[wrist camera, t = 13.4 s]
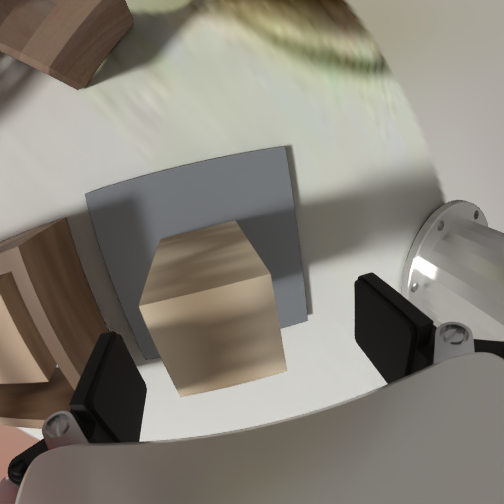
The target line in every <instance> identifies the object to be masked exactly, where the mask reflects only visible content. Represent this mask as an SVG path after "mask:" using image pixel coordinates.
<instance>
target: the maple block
mask: <svg viewBox="0 0 504 504" xmlns="http://www.w3.org/2000/svg"><path fill="white" fill-rule="evenodd" d="M139 309H140V311H141V313H142V316H143V318H144V321H145V323H146V325H147V328H148V330H149V332H150V335H151V337H152V339H153V341H154V344H155V346H156V348H157V350H158V352H159V355H160V357H161V359H162V361H163V363H164V365H165V367H166V369H167V371H168V373H169V375H170V377H171V379H172V381H173V383H174V385H175V387H176V389H177V391H178V393H179V395H180V397H184V396H189V395H194V394H199V393H204V392H209V391H213V390H218V389H222V388H226V387H230V386H235V385H239V384H243V383H246V382H250V381H254V380H258V379H261V378H265V377H269V376H272V375H275V374H279V373H282V372H285V371H287V367H286V361H285V355H284V349H283V343H282V337H281V331H280V325H279V320H278V314H277V308H276V302H275V296H274V291H273V285H272V279H271V274H270V272H269V271H268V269H267V268H266V266H265V265H264V263H263V262H262V260H261V259H260V257H259V256H258V254H257V253H256V251H255V250H254V248H253V246H252V245H251V243H250V242H249V240H248V239H247V237H246V236H245V234H244V233H243V231H242V230H241V228H240V227H239V225H238V224H237V222H236V221H230V222H226V223H222V224H218V225H214V226H210V227H206V228H202V229H197V230H193V231H189V232H185V233H182V234H178V235H174V236H170V237H166V238H162V239H160V242H159V244H158V247H157V250H156V253H155V256H154V259H153V262H152V265H151V268H150V271H149V274H148V277H147V280H146V283H145V287H144V290H143V293H142V296H141V300H140V303H139Z"/></svg>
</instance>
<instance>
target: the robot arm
mask: <svg viewBox="0 0 504 504" xmlns="http://www.w3.org/2000/svg"><path fill="white" fill-rule="evenodd" d="M354 286H355V340H356V342H357V344H358V345H359V346H360V348H361V349H362V350H363V352H364V353H365V354H366V356H367V357H368V358H369V359H370V361H371V362H372V363H373V365H374V366H375V367H376V369H377V370H378V371H379V373H380V374H381V375H382V377H383V378H384V379H385V381H386V382H387V383H388V384H387V385H385V386H382V387H380V388H377V389H375V390H372V391H370V392H367V393H365V394H362V395H359V396H357V397H354V398H351V399H349V400H346V401H343V402H340V403H337V404H334V405H331V406H328V407H325V408H322V409H319V410H315V411H312V412H309V413H305V414H302V415H298V416H295V417H291V418H288V419H284V420H280V421H276V422H272V423H268V424H263V425H259V426H254V427H250V428H245V429H240V430H235V431H229V432H223V433H217V434H211V435H205V436H197V437H190V438H181V439H172V440H160V441H146V442H139V439H140V432H141V425H142V418H143V411H144V405H145V399H146V393H147V388H146V384H145V382H144V380H143V378H142V376H141V375H140V373H139V371H138V369H137V367H136V365H135V363H134V361H133V359H132V357H131V355H130V353H129V351H128V349H127V347H126V345H125V343H124V341H123V339H122V337H121V335H119V334H118V335H117V334H116V332H114V331H113V332H107V333H102V334H100V336H99V338H98V340H97V342H96V344H95V347H94V349H93V351H92V353H91V355H90V357H89V359H88V362H87V364H86V366H85V368H84V371H83V373H82V375H81V377H80V380H79V382H78V384H77V387H76V389H75V392H74V394H73V396H72V399H71V401H70V404H69V405H70V407H71V410H70V412H67V411H58V412H55V413H53V414H52V415H50V416H49V417H48V418H47V419H46V420H45V422H44V424H43V427H42V434H43V437H44V439H42V440H41V441H39V442H38V443H36V444H35V445H33V446H32V447H30V448H28V449H27V450H25V451H24V452H22V453H21V454H20V455H18V456H16V457H15V458H14V459H13V460H12V461H11V463H10V464H9V467H8V477H9V479H7V478H5V477H4V479H3V480H2V481H1V482H0V504H504V233H501V232H499V231H497V230H494V229H491V228H489V227H488V224H487V221H486V218H485V216H484V214H483V212H482V211H481V210H480V208H479V207H477V206H476V205H475V204H472V203H470V202H467V201H463V200H455V201H451V202H448V203H446V204H444V205H442V206H441V207H440V208H438V209H437V210H436V211H435V212H434V213H433V214H432V215H431V216H430V217H429V218H428V220H427V221H426V222H425V223H424V225H423V226H422V228H421V230H420V231H419V233H418V234H417V236H416V238H415V240H414V243H413V245H412V247H411V249H410V252H409V255H408V258H407V260H406V264H405V268H404V273H403V278H402V287H401V293H402V295H401V294H400V293H398V292H397V291H396V290H395V289H393V288H392V287H391V286H389V285H388V284H387V283H386V282H384V281H383V280H382V279H380V278H379V277H378V276H377V275H375V274H374V273H368V274H365V275H361V276H359V277H358V280H357V281H355V285H354Z"/></svg>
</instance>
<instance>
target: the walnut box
mask: <svg viewBox="0 0 504 504" xmlns="http://www.w3.org/2000/svg"><path fill="white" fill-rule="evenodd" d="M107 332H109V331H108V328H107V326H106V324H105V322H104V320H103V318H102V315H101V313H100V311H99V309H98V306H97V304H96V302H95V299H94V297H93V294H92V292H91V289H90V287H89V284H88V282H87V279H86V277H85V274H84V271H83V269H82V266H81V263H80V260H79V258H78V255H77V252H76V249H75V246H74V243H73V240H72V236H71V233H70V230H69V227H68V223H67V220H66V217H65V218H62V219H59V220H56V221H54V222H51V223H48V224H45V225H42V226H40V227H37V228H34V229H32V230H29V231H27V232H24V233H21V234H19V235H16V236H14V237H11V238H9V239H7V240H4V241H2V242H0V425H6V426H14V427H25V428H39V429H42V427H43V424H44V422H45V420H46V419H47V418H48V417H49V416H50V415H52V414H53V413H55V412H58V411H67V412H70V410H71V407H70V405H69V404H70V401H71V399H72V396H73V394H74V392H75V389H76V387H77V384H78V382H79V380H80V377H81V375H82V373H83V371H84V368H85V366H86V364H87V362H88V359H89V357H90V355H91V353H92V351H93V349H94V347H95V344H96V342H97V340H98V338H99V336H100V334H102V333H107ZM57 364H58V366H59V368H55V367H56V365H57Z"/></svg>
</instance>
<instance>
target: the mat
mask: <svg viewBox="0 0 504 504" xmlns="http://www.w3.org/2000/svg"><path fill="white" fill-rule="evenodd" d="M85 197H86V201H87V205H88V209H89V212H90V216H91V219H92V223H93V226H94V230H95V233H96V236H97V239H98V243H99V246H100V249H101V252H102V255H103V258H104V261H105V264H106V267H107V269H108V272H109V275H110V278H111V280H112V283H113V286H114V288H115V291H116V294H117V296H118V299H119V301H120V304H121V306H122V308H123V311H124V313H125V316H126V318H127V320H128V323H129V325H130V327H131V330H132V332H133V334H134V336H135V338H136V341H137V343H138V345H139V347H140V349H141V351H142V353H143V355H144V357H145V359H146V360H148V359H153V358H159V357H160V355H159V352H158V350H157V348H156V346H155V344H154V341H153V339H152V337H151V335H150V332H149V330H148V328H147V325H146V323H145V321H144V318H143V316H142V313H141V311H140V309H139V303H140V300H141V296H142V293H143V290H144V287H145V283H146V280H147V277H148V274H149V271H150V268H151V265H152V262H153V259H154V256H155V253H156V250H157V247H158V244H159V242H160V239H162V238H166V237H170V236H174V235H178V234H182V233H185V232H189V231H193V230H197V229H202V228H206V227H210V226H214V225H218V224H222V223H226V222H230V221H236V222H237V224H238V225H239V227H240V228H241V230H242V231H243V233H244V234H245V236H246V237H247V239H248V240H249V242H250V243H251V245H252V246H253V248H254V250H255V251H256V253H257V254H258V256H259V257H260V259H261V260H262V262H263V263H264V265H265V266H266V268H267V269H268V271H269V272H270V274H271V279H272V285H273V291H274V296H275V302H276V308H277V314H278V320H279V325H280V329H281V328H285V327H288V326H292V325H295V324H298V323H302V322H305V321H308V317H307V307H306V297H305V288H304V279H303V270H302V261H301V253H300V245H299V237H298V230H297V222H296V215H295V208H294V201H293V194H292V187H291V181H290V174H289V168H288V162H287V156H286V150H285V146H283V147H276V148H270V149H264V150H258V151H252V152H246V153H241V154H236V155H230V156H225V157H220V158H215V159H211V160H206V161H202V162H197V163H193V164H188V165H184V166H180V167H176V168H172V169H168V170H164V171H160V172H156V173H152V174H149V175H145V176H141V177H138V178H134V179H131V180H127V181H124V182H120V183H117V184H114V185H111V186H107V187H104V188H101V189H98V190H95V191H92V192H89V193H86V194H85Z"/></svg>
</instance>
